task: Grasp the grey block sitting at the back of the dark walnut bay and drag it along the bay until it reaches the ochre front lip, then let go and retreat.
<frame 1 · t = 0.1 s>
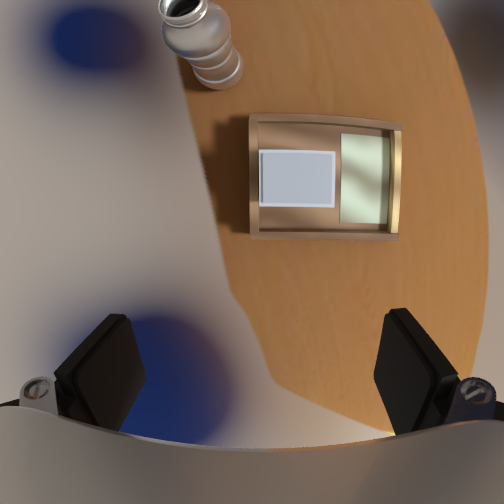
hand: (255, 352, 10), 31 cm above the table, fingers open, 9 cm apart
grey block: (294, 177, 33), point 5 cm above the table, slide at 0.0 cm
bay: (326, 176, 38), on the table
plastic bottle: (221, 72, 34), on the table
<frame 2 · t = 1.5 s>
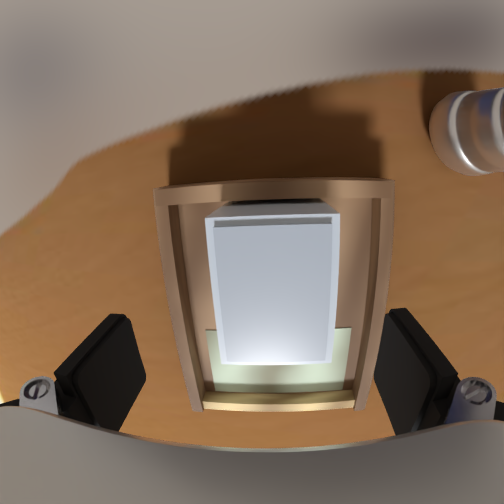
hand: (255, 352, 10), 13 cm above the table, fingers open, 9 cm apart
grey block: (275, 272, 17), point 5 cm above the table, slide at 0.0 cm
bay: (278, 305, 23), on the table
plastic bottle: (450, 134, 18), on the table
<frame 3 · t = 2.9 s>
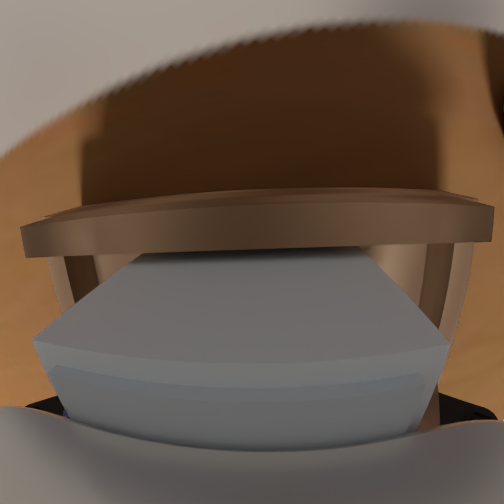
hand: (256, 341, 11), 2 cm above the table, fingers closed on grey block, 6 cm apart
grey block: (251, 393, 8), point 5 cm above the table, slide at 0.0 cm, touching gripper
bay: (263, 391, 14), on the table
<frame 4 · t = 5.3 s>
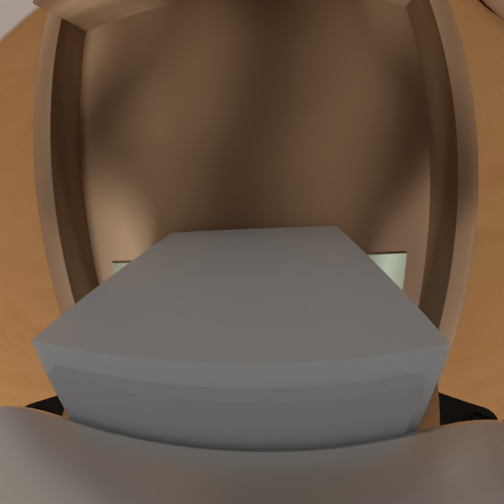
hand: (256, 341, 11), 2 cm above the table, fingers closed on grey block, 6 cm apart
grey block: (251, 393, 8), point 5 cm above the table, slide at 9.3 cm, touching gripper
bay: (253, 206, 11), on the table
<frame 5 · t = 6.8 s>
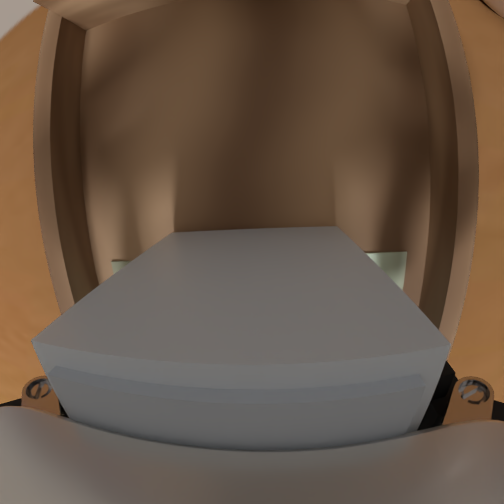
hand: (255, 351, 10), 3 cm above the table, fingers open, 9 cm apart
grey block: (251, 394, 8), point 5 cm above the table, slide at 9.4 cm
bay: (253, 204, 11), on the table
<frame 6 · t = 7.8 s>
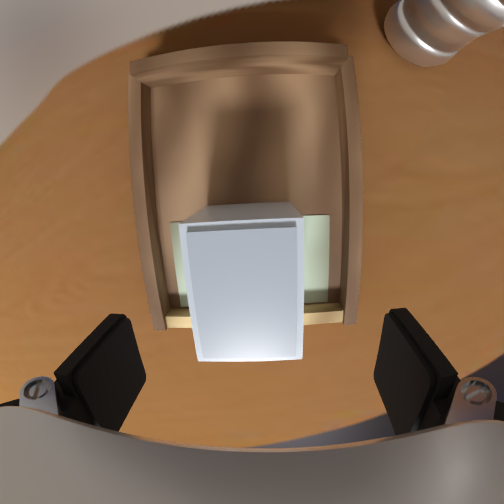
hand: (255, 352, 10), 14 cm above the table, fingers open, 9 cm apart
grey block: (248, 274, 18), point 5 cm above the table, slide at 9.4 cm
bay: (247, 192, 22), on the table
plastic bottle: (408, 42, 18), on the table
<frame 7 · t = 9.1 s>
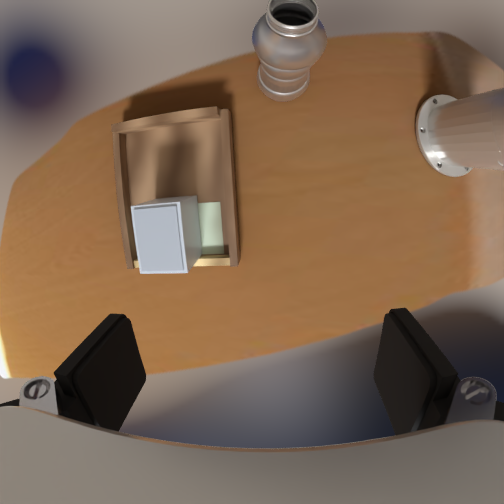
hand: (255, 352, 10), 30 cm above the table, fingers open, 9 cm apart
grey block: (168, 232, 35), point 5 cm above the table, slide at 9.4 cm
bay: (177, 191, 39), on the table
plastic bottle: (282, 83, 34), on the table
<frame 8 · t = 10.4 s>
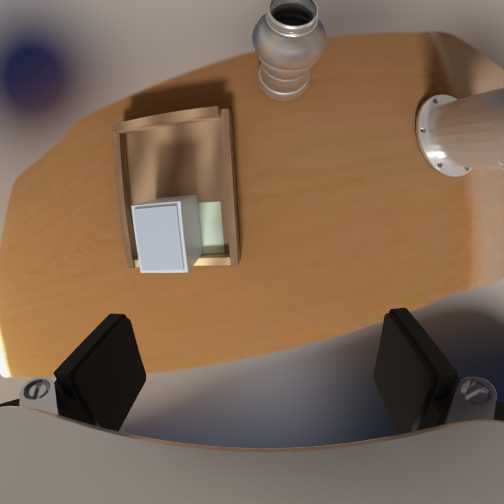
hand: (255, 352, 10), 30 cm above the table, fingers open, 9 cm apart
grey block: (169, 231, 35), point 5 cm above the table, slide at 9.4 cm
bay: (178, 190, 39), on the table
plastic bottle: (283, 82, 34), on the table
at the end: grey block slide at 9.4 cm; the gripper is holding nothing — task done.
